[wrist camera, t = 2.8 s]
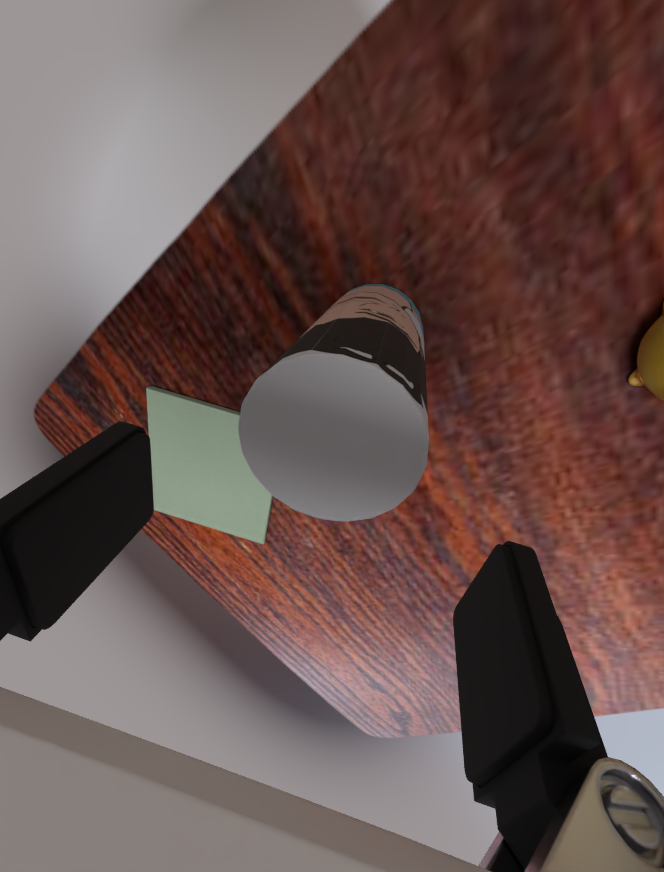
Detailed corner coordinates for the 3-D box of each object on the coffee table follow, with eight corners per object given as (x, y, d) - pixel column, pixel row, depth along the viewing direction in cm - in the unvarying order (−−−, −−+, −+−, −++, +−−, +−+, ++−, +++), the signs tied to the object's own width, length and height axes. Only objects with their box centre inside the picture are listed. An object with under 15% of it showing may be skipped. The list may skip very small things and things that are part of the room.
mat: (156, 505, 39) (152, 509, 38) (150, 385, 32) (145, 387, 31) (265, 540, 38) (263, 544, 38) (285, 425, 31) (283, 428, 30)
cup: (435, 292, 24) (454, 375, 11) (410, 389, 27) (404, 538, 14) (331, 275, 24) (236, 335, 12) (320, 372, 28) (238, 500, 15)
